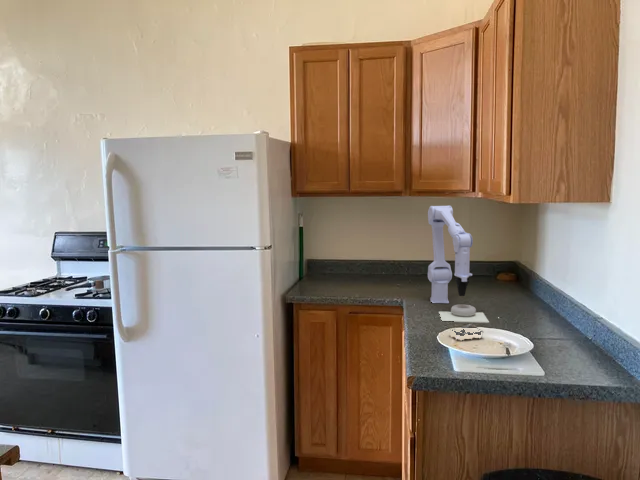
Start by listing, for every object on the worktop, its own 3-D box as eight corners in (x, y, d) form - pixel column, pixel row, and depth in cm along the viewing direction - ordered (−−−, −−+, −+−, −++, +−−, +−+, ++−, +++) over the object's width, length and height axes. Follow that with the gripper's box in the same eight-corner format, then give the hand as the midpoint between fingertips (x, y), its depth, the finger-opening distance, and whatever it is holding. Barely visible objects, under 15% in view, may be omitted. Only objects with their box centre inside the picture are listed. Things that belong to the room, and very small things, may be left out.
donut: (449, 311, 207) (452, 317, 197) (449, 303, 207) (452, 308, 197) (473, 311, 206) (477, 317, 196) (474, 303, 205) (478, 309, 196)
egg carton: (474, 333, 178) (474, 322, 178) (485, 340, 171) (485, 328, 170) (447, 336, 176) (447, 324, 175) (457, 342, 168) (457, 331, 168)
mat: (438, 312, 207) (438, 311, 207) (482, 313, 204) (482, 312, 204) (441, 321, 193) (441, 320, 193) (489, 322, 190) (489, 321, 190)
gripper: (475, 266, 193) (474, 299, 194) (469, 260, 207) (469, 291, 208) (456, 266, 194) (456, 299, 195) (452, 260, 208) (452, 291, 210)
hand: (461, 295), depth 202 cm, fingers closed
